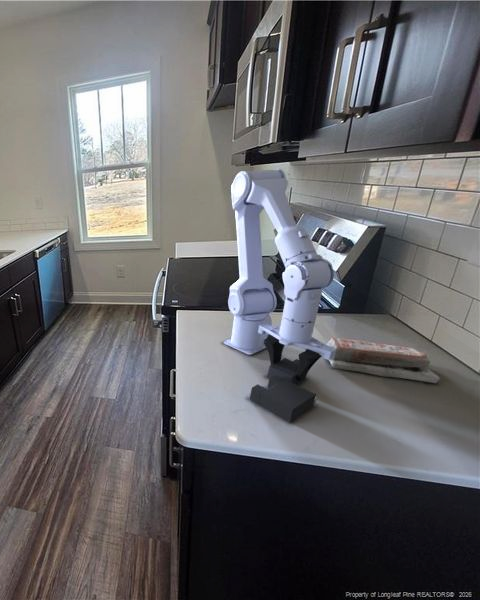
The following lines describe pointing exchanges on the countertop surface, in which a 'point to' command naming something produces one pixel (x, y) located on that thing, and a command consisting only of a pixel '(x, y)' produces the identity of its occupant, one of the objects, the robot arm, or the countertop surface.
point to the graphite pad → (285, 370)
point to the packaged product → (381, 360)
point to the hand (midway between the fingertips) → (287, 372)
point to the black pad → (283, 398)
